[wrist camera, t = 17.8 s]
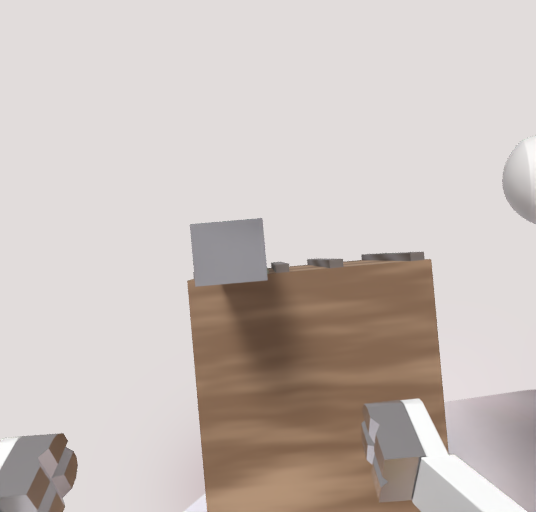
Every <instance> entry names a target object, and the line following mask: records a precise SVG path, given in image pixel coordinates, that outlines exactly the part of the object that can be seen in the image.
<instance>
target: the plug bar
mask: <svg viewBox="0 0 536 512" xmlns="http://www.w3.org/2000/svg"><path fill="white" fill-rule="evenodd" d="M190 230H191V242H192V253H193V265H194V277H195V287H197V286H209V285H220V284H231V283H243V282H254V281H265V280H268V278H267V266H266V255H265V245H264V244H265V243H264V233H263V220H262V218H258V219H247V220H236V221H223V222H212V223H201V224H191V225H190Z"/></svg>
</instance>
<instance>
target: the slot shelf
mask: <svg viewBox="0 0 536 512" xmlns="http://www.w3.org/2000/svg"><path fill="white" fill-rule="evenodd" d="M307 261H308V265H303V266H290V267H289V264H287V263H283V262H274V263H271V266H272V268H267V278H268V280H265V281H254V282H243V283H231V284H220V285H209V286H197V287H195V277H194V279H192V280H189V281H187V282H188V294H189V305H190V317H191V329H192V340H193V352H194V363H195V374H196V387H197V398H198V410H199V421H200V432H201V445H202V454H203V455H202V456H203V468H204V479H205V491H206V502H207V512H421V511H420V510H419V509H418V508H417V507H416V506H415V505H414V504H413V502H412V500H407V501H393V502H379V500H378V497H377V493H376V490H375V487H374V483H373V480H372V477H371V475H372V464H371V463H370V462H368V461H367V459H366V456H365V452H364V448H363V444H362V436H361V423H362V422H363V421H364V417H363V414H362V408H363V405H364V404H366V403H375V402H384V401H393V400H408V399H420V400H421V401H422V402H423V404H424V406H425V408H426V410H427V412H428V414H429V416H430V418H431V420H432V422H433V424H434V426H435V428H436V430H437V432H438V434H439V436H440V438H441V440H442V442H443V444H444V446H445V448H446V450H447V452H448V442H447V431H446V420H445V408H444V398H443V386H442V375H441V365H440V353H439V341H438V331H437V319H436V309H435V298H434V286H433V275H432V263H431V260H430V259H424V252H408V253H383V254H366V255H362V260H359V261H347V262H343V259H308V260H307ZM448 454H449V453H448Z"/></svg>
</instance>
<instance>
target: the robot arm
mask: <svg viewBox="0 0 536 512" xmlns="http://www.w3.org/2000/svg"><path fill="white" fill-rule="evenodd" d="M502 182H503V190H504V194H505V196H506V199H507V201H508V202H509V204H510V205H511V207H512V208H513V209H514V210H515V211H516V212H517V213H518V214H519V215H520V216H522V217H523V218H525V219H526V220H528V221H530V222H532V223H534V224H536V135H535V136H532V137H530V138H527V139H524V140H522V141H521V142H520V143H519V144H518V145H517V146H516V147H515V149H514V150H513V151H512V153H511V154H510V156H509V158H508V160H507V162H506V165H505V167H504V172H503V180H502ZM362 414H363V417H364V421H363V422H362V423H361V436H362V444H363V448H364V452H365V456H366V459H367V461H368V462H370V463H371V464H372V475H371V477H372V480H373V483H374V487H375V490H376V493H377V497H378V500H379V502H393V501H407V500H412V502H413V504H414V505H415V506H416V507H417V508H418V509H419V510H420V511H421V512H527V511H526V510H525V509H523V508H522V507H521V506H520V505H518V504H517V503H516V502H514V501H513V500H512V499H511V498H509V497H508V496H507V495H506V494H504V493H503V492H502V491H501V490H499V489H498V488H497V487H495V486H494V485H493V484H492V483H490V482H489V481H488V480H487V479H485V478H484V477H483V476H481V475H480V474H479V473H478V472H476V471H475V470H474V469H473V468H471V467H470V466H469V465H467V464H466V463H465V462H464V461H462V460H461V459H460V458H459V457H457V456H456V455H455V454H453V455H449V454H448V452H447V450H446V448H445V446H444V444H443V442H442V440H441V438H440V436H439V434H438V432H437V430H436V428H435V426H434V424H433V422H432V420H431V418H430V416H429V414H428V412H427V410H426V408H425V406H424V404H423V402H422V401H421V400H420V399H408V400H393V401H384V402H375V403H366V404H364V405H363V408H362ZM67 442H68V440H67V439H66V437H65V435H64V434H62V433H61V434H49V435H34V436H20V437H10V438H3V439H2V440H0V512H63V510H64V508H65V505H64V501H63V497H64V496H65V495H66V494H67V493H68V492H69V491H70V490H71V489H72V487H73V484H74V481H75V479H76V472H77V466H78V465H77V458H76V455H75V454H74V451H72V450H70V449H68V448H67V447H66V444H67Z"/></svg>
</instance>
